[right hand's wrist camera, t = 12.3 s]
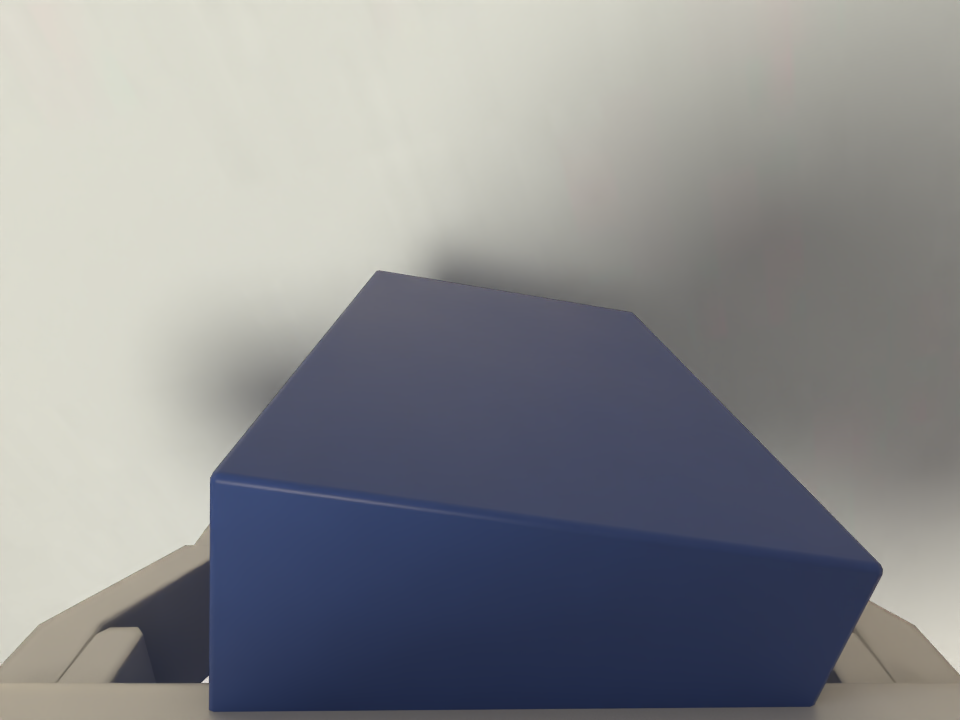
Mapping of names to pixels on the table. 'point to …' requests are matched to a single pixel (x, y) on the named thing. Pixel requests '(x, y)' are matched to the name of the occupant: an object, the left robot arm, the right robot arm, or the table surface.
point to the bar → (514, 524)
